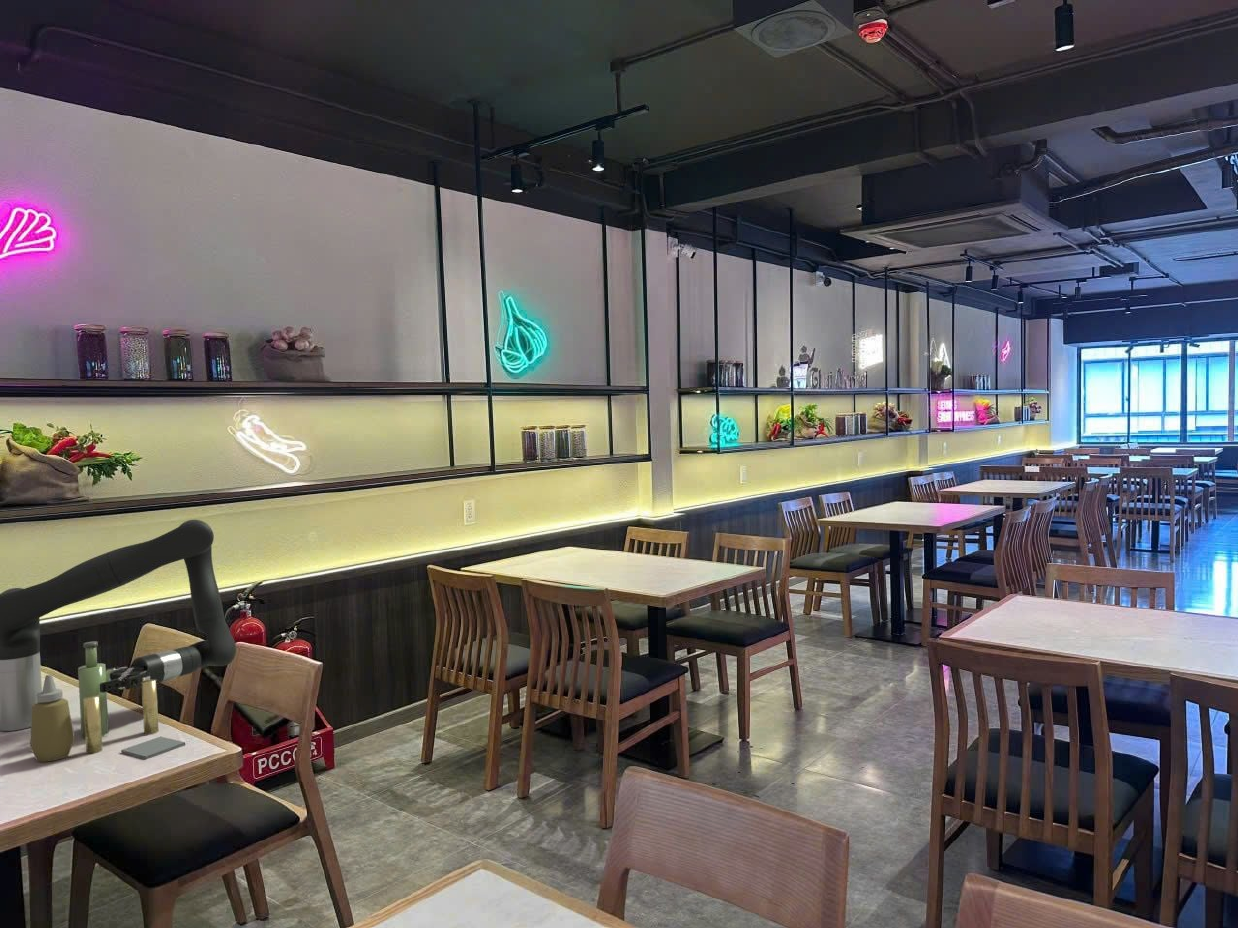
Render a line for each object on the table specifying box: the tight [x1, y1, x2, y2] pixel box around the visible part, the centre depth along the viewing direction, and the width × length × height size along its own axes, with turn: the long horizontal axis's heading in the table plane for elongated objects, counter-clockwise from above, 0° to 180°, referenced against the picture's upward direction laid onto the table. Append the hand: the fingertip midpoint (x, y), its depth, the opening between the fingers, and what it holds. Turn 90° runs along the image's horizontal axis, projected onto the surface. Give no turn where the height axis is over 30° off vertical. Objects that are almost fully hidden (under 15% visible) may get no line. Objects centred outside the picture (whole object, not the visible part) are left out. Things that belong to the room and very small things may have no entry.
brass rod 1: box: [83, 695, 103, 755], centre depth 185 cm, size 3×3×12 cm
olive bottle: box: [77, 640, 110, 739], centre depth 196 cm, size 5×5×22 cm
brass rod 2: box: [141, 680, 160, 735], centre depth 196 cm, size 3×3×12 cm
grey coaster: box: [120, 736, 186, 760], centre depth 185 cm, size 9×9×1 cm
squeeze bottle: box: [29, 674, 75, 763], centre depth 182 cm, size 8×8×18 cm
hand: (90, 686), depth 195 cm, fingers open, 8 cm apart
